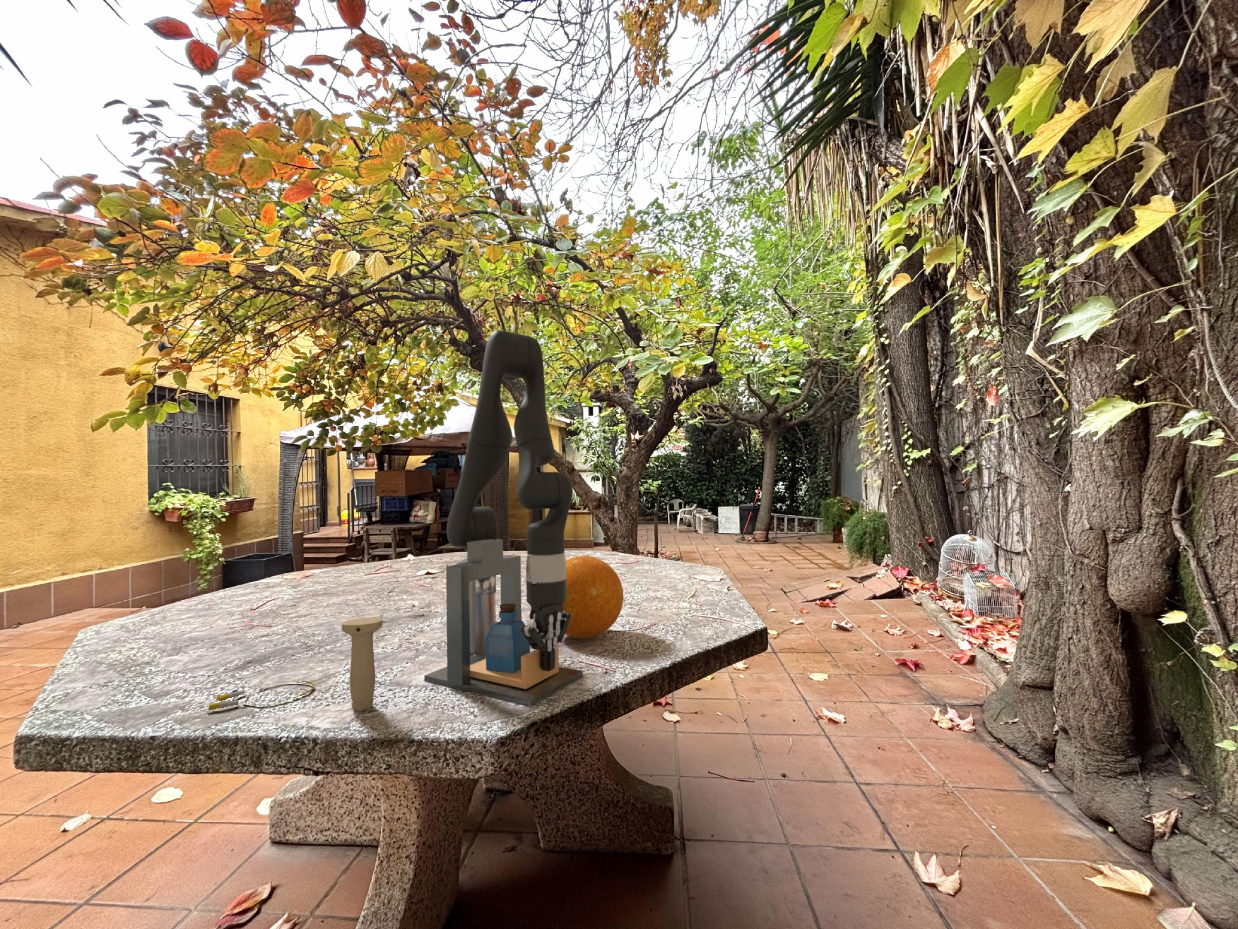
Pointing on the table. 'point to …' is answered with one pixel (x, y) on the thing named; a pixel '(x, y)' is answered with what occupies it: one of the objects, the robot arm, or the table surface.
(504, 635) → the perfume bottle
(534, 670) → the press bed carriage
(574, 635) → the decorative sphere
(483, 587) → the press frame
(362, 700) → the handle
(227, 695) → the jump rope
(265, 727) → the table surface
